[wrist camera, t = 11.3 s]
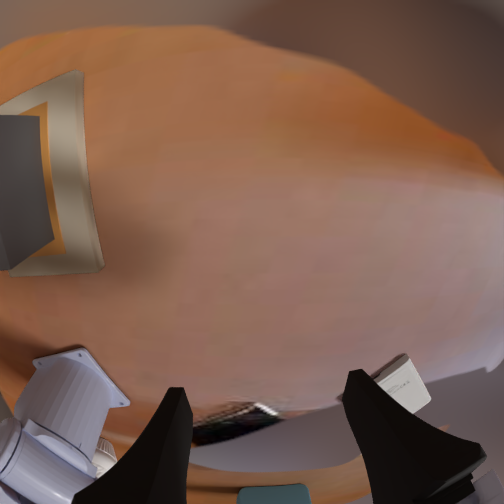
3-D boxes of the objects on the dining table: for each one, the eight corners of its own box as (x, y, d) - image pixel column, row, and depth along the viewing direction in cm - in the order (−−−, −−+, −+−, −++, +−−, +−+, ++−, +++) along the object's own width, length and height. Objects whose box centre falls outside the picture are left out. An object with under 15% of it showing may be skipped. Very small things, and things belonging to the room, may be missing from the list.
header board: (104, 265, 18) (79, 293, 14) (17, 271, 18) (-10, 293, 14) (84, 72, 13) (51, 59, 9) (-6, 114, 13) (-39, 115, 9)
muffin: (77, 435, 27) (64, 471, 20) (90, 425, 26) (75, 466, 19) (113, 455, 29) (104, 491, 22) (129, 447, 27) (120, 488, 21)
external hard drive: (377, 425, 30) (339, 394, 26) (427, 391, 28) (404, 349, 24) (381, 434, 28) (344, 405, 24) (432, 399, 27) (411, 359, 23)
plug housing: (6, 131, 12) (-42, 136, 8) (39, 116, 13) (-12, 114, 8) (21, 243, 16) (-21, 271, 11) (54, 239, 16) (11, 269, 11)
